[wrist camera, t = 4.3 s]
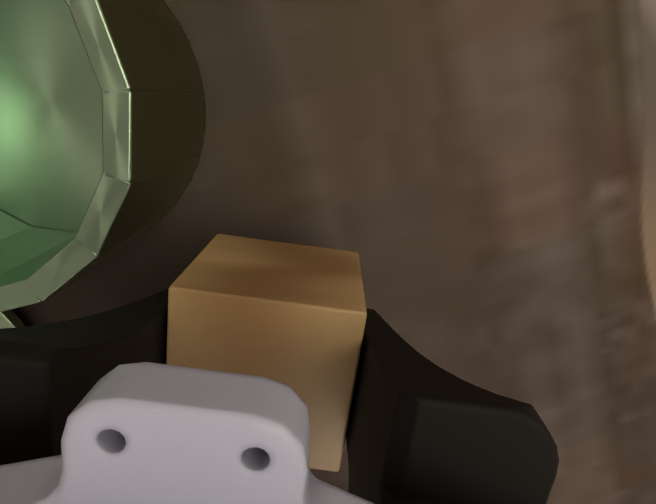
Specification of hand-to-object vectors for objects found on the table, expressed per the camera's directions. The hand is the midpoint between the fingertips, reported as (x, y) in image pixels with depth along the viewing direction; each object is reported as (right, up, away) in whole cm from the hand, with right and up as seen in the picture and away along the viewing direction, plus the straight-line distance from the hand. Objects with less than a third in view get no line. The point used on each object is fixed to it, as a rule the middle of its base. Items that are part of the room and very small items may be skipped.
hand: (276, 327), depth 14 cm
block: (0, 0, +1) cm, 1 cm away
